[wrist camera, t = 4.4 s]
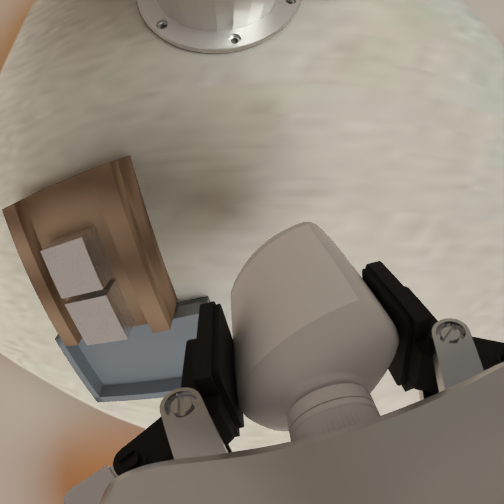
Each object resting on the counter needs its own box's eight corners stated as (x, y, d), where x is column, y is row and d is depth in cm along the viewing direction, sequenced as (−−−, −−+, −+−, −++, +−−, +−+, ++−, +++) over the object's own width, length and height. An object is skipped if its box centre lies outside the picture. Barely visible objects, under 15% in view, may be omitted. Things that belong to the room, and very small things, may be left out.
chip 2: (76, 288, 23) (64, 304, 20) (116, 279, 23) (106, 295, 20) (96, 327, 24) (87, 345, 22) (135, 320, 24) (127, 339, 22)
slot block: (30, 195, 22) (2, 209, 18) (129, 155, 22) (109, 162, 18) (82, 318, 27) (65, 346, 23) (177, 299, 27) (170, 330, 23)
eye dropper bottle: (213, 246, 15) (200, 518, 4) (326, 212, 14) (498, 420, 4) (240, 317, 17) (263, 548, 6) (341, 287, 16) (450, 489, 5)
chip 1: (55, 239, 21) (40, 251, 19) (95, 225, 21) (81, 237, 19) (74, 283, 22) (61, 298, 20) (113, 273, 22) (103, 289, 20)
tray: (64, 324, 27) (54, 339, 25) (208, 296, 27) (206, 312, 25) (102, 386, 31) (97, 402, 29) (234, 369, 31) (235, 386, 28)
